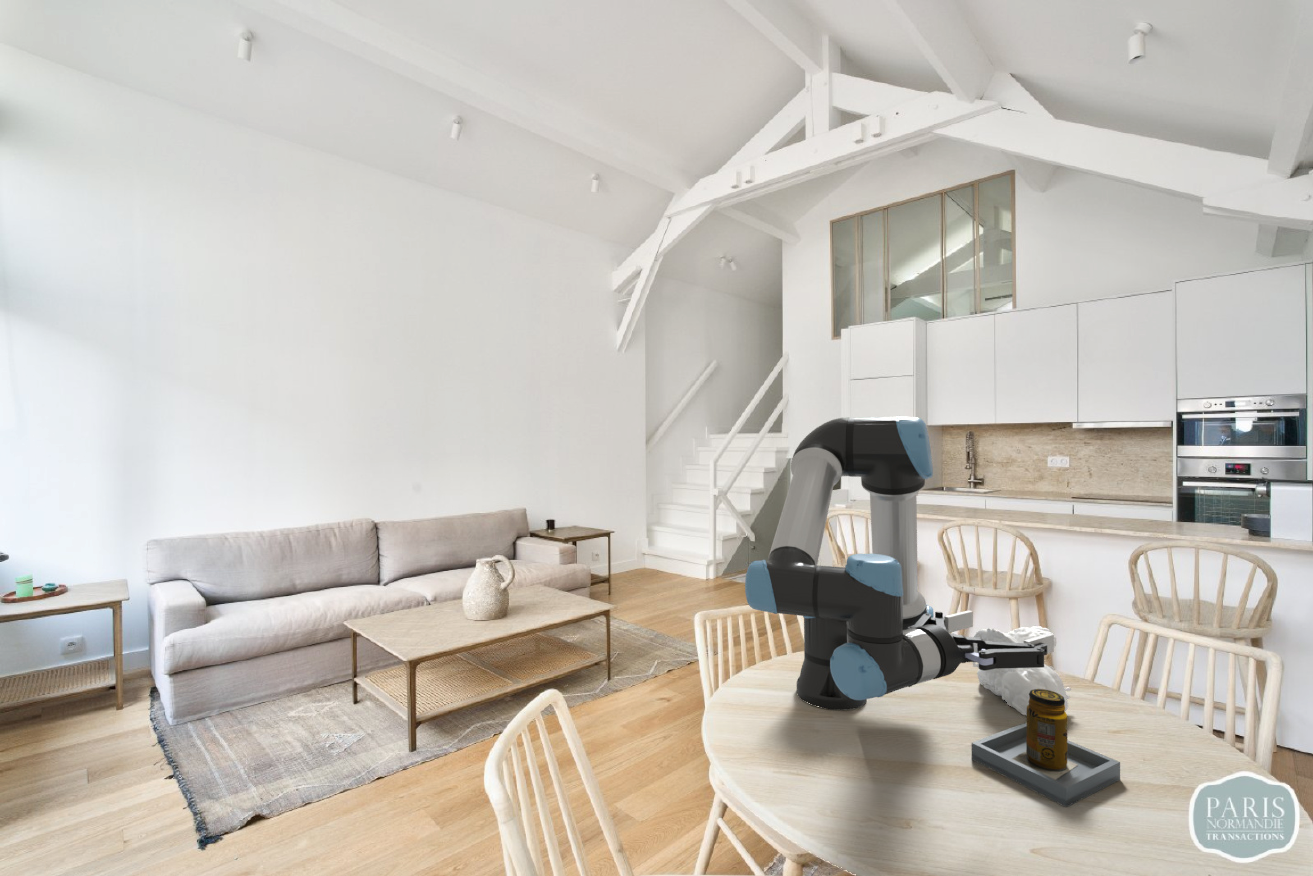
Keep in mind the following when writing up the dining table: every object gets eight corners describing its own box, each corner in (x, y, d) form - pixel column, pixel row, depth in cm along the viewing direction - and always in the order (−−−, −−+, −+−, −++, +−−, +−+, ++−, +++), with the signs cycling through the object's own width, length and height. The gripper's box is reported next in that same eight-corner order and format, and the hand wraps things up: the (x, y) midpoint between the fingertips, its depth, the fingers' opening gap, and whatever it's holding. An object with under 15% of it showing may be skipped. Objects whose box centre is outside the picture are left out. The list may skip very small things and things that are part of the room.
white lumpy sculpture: (1060, 691, 116) (981, 613, 132) (1005, 754, 126) (937, 674, 141) (1117, 679, 125) (1036, 606, 140) (1061, 739, 134) (991, 665, 149)
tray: (971, 759, 109) (971, 742, 109) (1025, 738, 117) (1025, 722, 117) (1065, 807, 95) (1065, 788, 95) (1120, 779, 103) (1120, 762, 103)
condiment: (1077, 765, 105) (1077, 696, 105) (1055, 781, 101) (1054, 709, 100) (1032, 747, 111) (1032, 682, 111) (1009, 761, 107) (1009, 693, 107)
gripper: (858, 651, 102) (942, 630, 112) (1002, 713, 80) (1091, 679, 90) (858, 607, 102) (942, 589, 112) (1002, 656, 80) (1091, 629, 90)
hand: (1008, 629), depth 101 cm, fingers open, 13 cm apart
